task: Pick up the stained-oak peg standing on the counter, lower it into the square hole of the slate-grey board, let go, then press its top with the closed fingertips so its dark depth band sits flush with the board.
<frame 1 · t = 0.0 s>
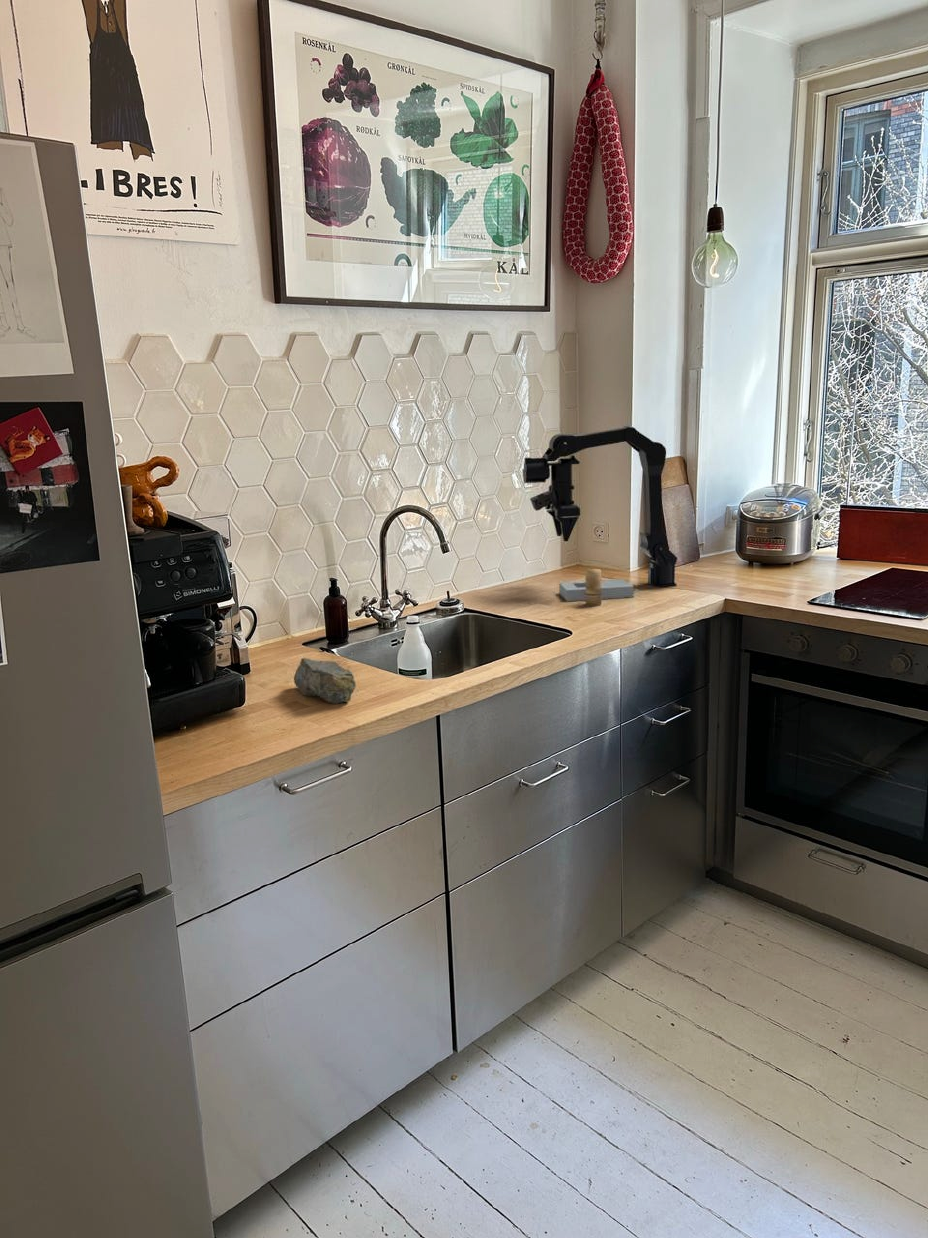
hand: (562, 538, 244), 15 cm above the worktop, tool pointing down, fingers open, 9 cm apart
peg: (593, 604, 231), on the worktop
board: (595, 595, 241), on the worktop
rock: (326, 696, 170), on the worktop
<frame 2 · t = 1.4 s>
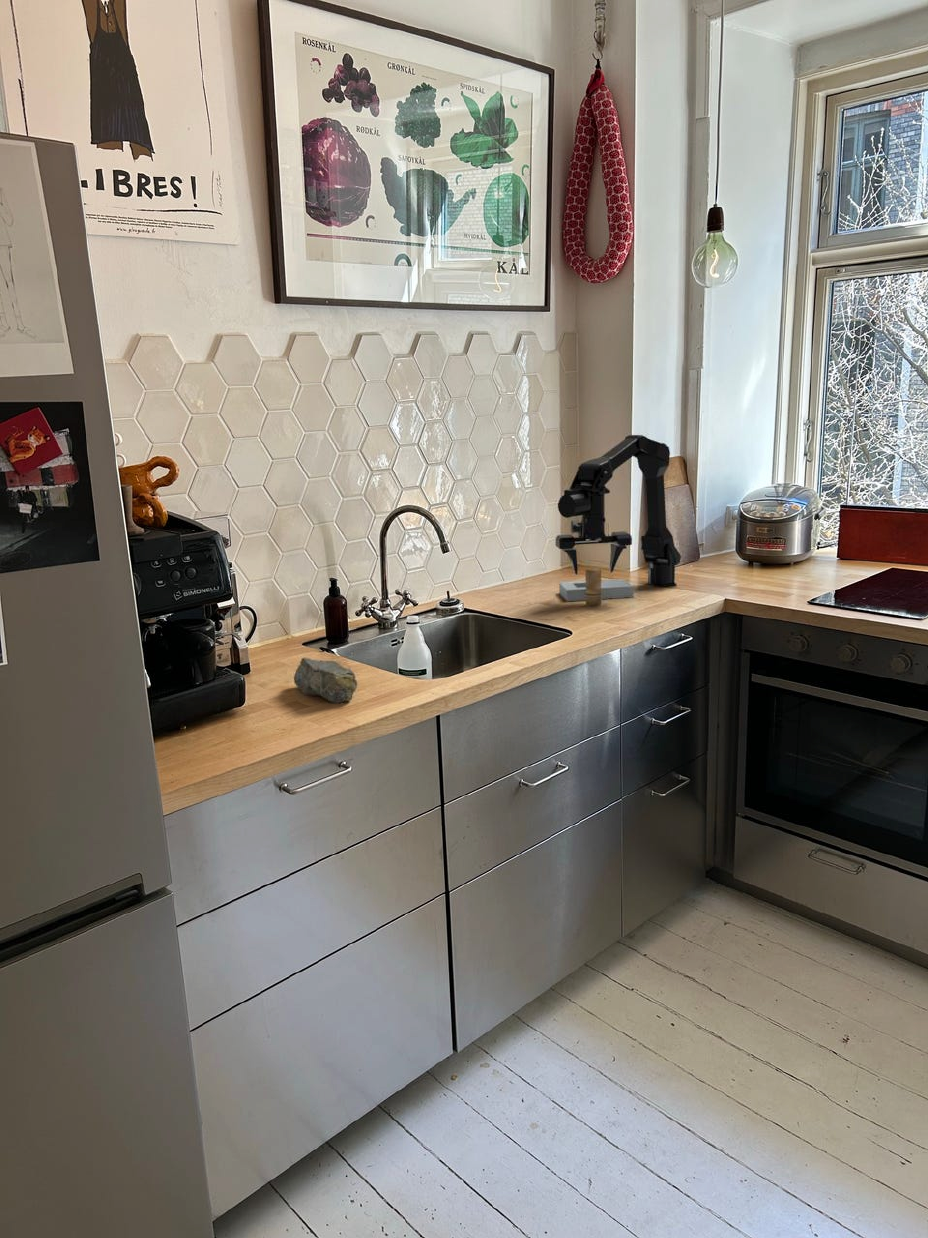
hand: (593, 573, 229), 8 cm above the worktop, tool pointing down, fingers open, 9 cm apart
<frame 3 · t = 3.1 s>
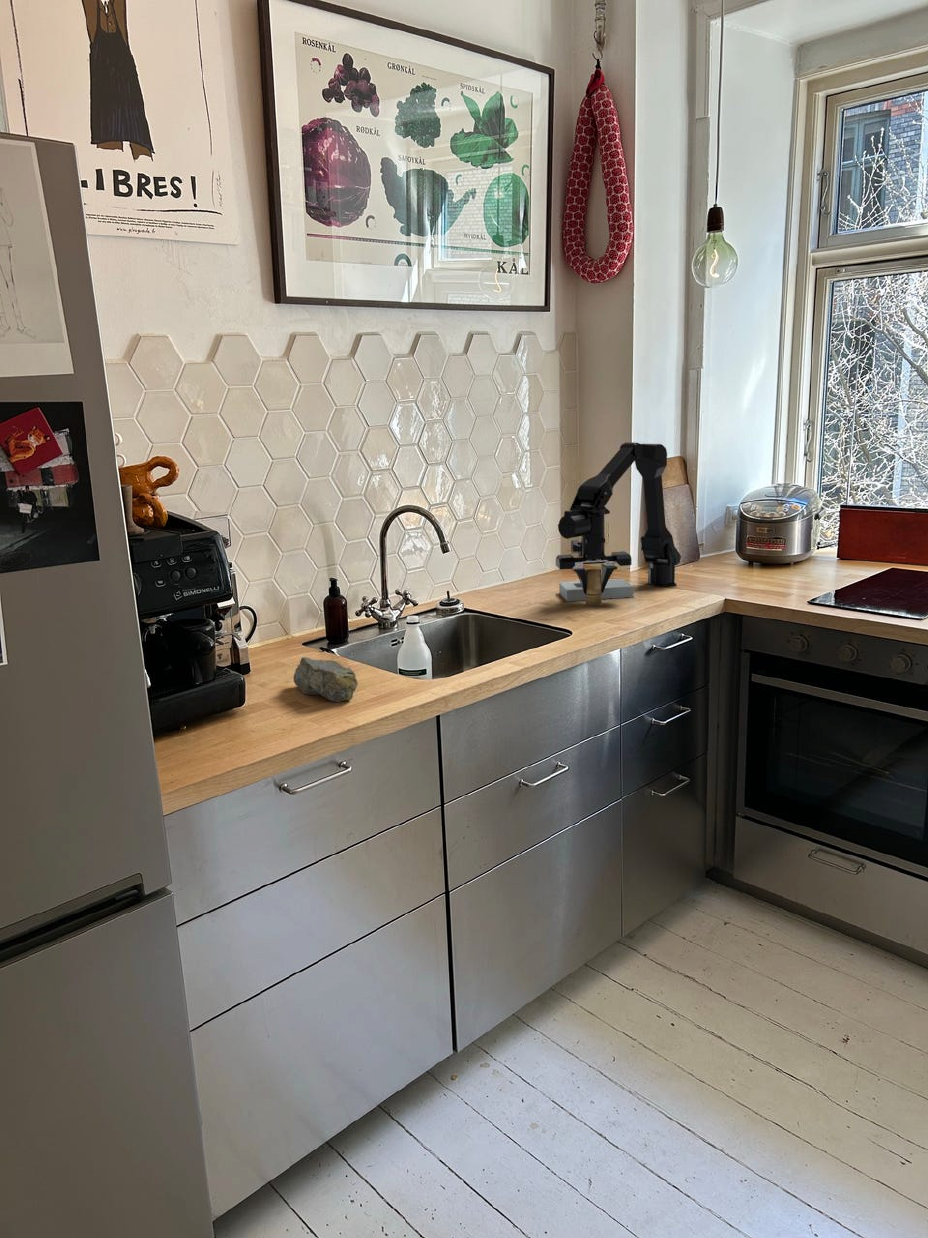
hand: (593, 592, 230), 3 cm above the worktop, tool pointing down, fingers closed on peg, 4 cm apart
peg: (593, 604, 231), on the worktop, touching gripper
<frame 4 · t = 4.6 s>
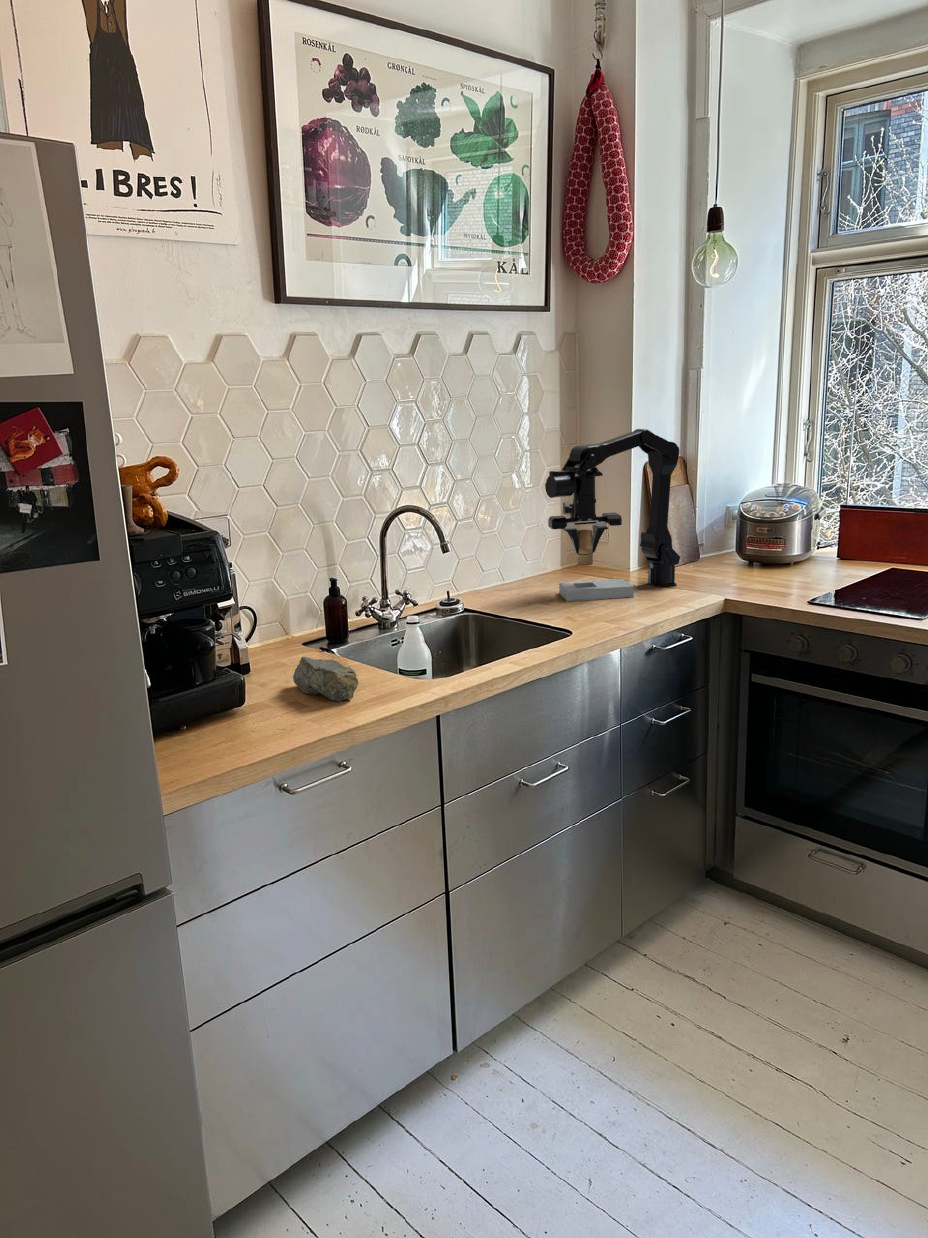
hand: (585, 552, 237), 12 cm above the worktop, tool pointing down, fingers closed on peg, 4 cm apart
peg: (585, 564, 238), point 9 cm above the worktop, touching gripper
when the fingers open (4 cm above the worktop, at t = 6.3 s): peg drops 1 cm, resting in board.
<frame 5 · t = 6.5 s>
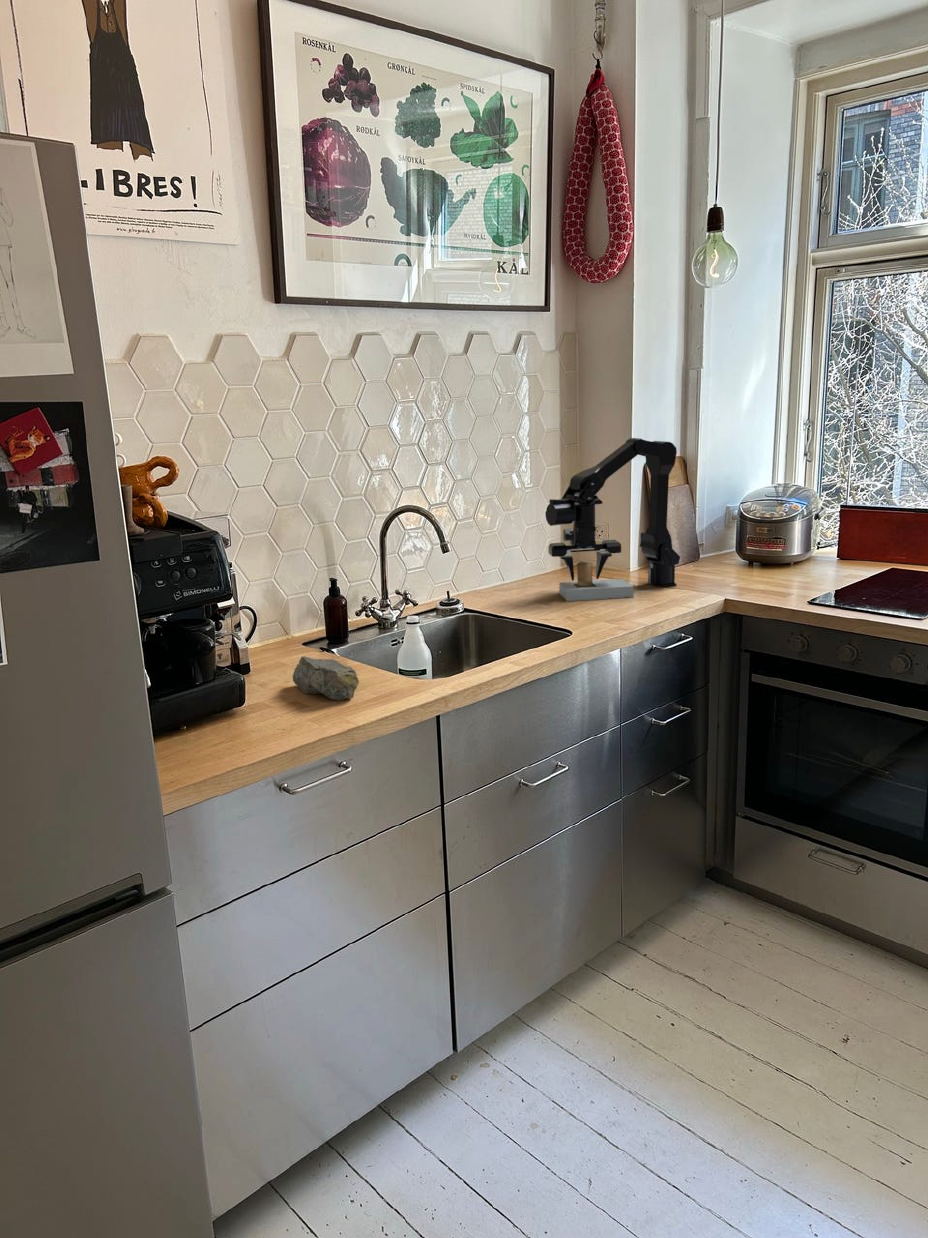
hand: (584, 579, 240), 4 cm above the worktop, tool pointing down, fingers open, 6 cm apart
peg: (585, 595, 241), resting in board
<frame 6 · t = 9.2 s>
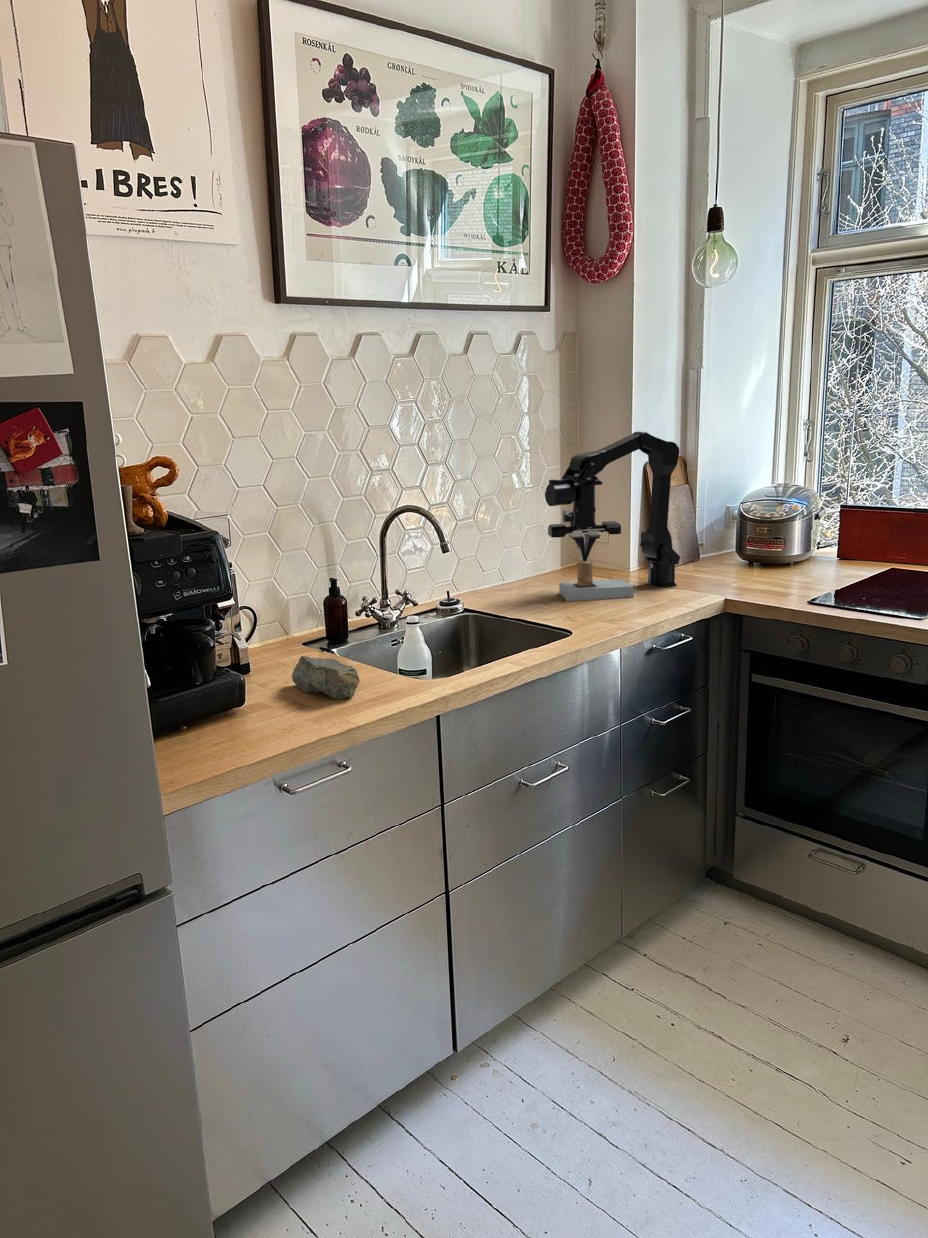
hand: (584, 561, 238), 10 cm above the worktop, tool pointing down, fingers closed
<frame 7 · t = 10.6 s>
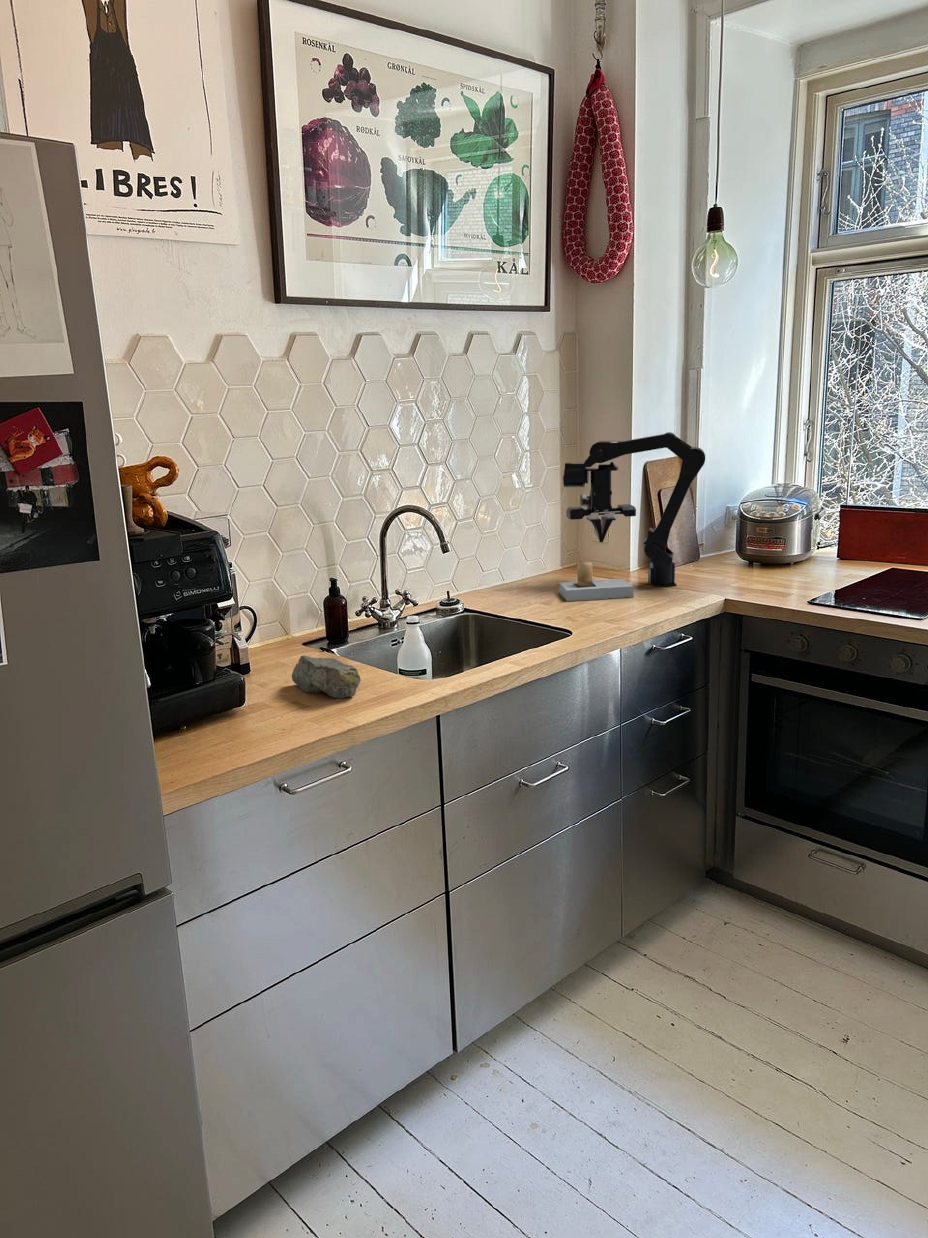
hand: (601, 542, 252), 12 cm above the worktop, tool pointing down, fingers closed
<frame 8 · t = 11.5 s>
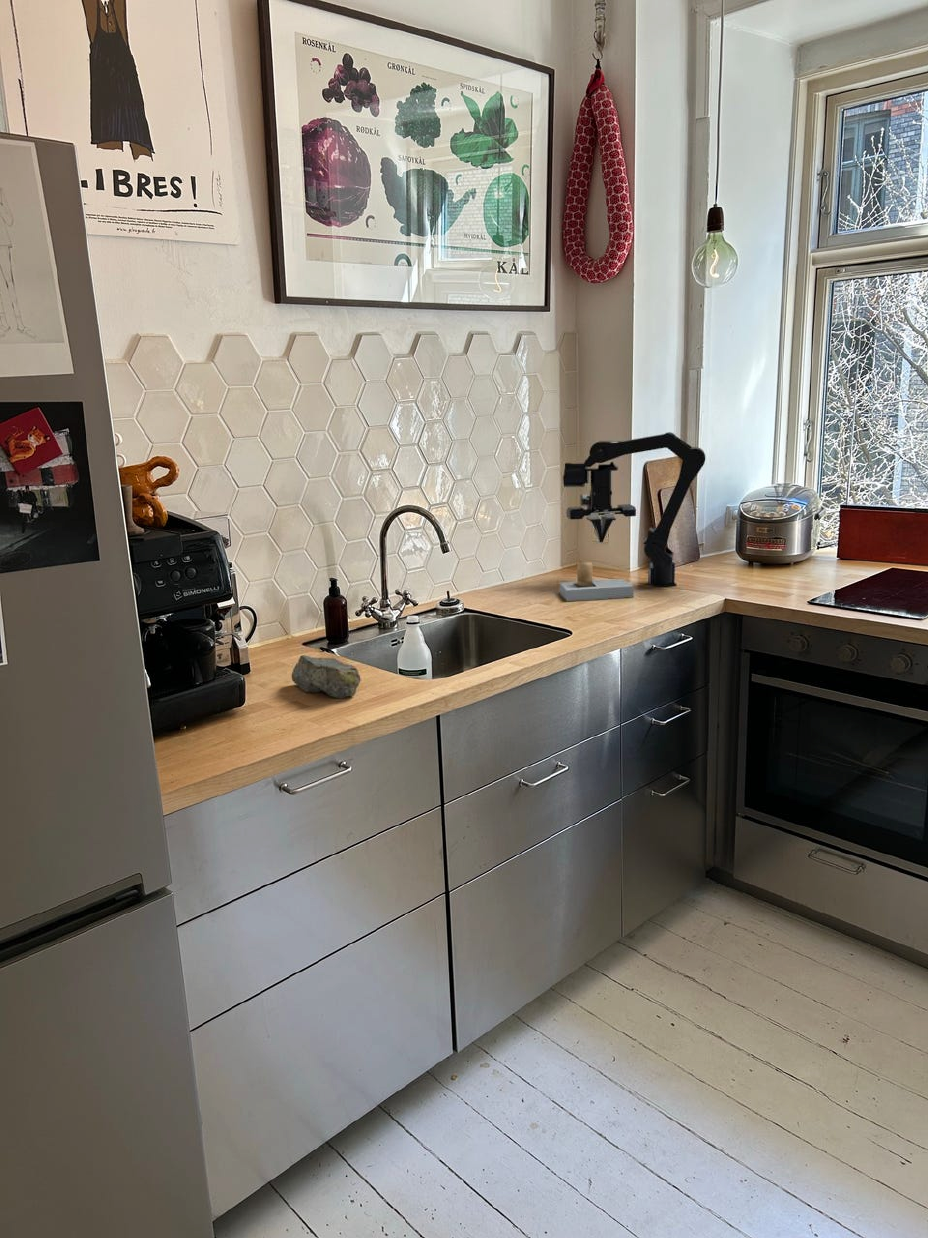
hand: (601, 542, 252), 12 cm above the worktop, tool pointing down, fingers closed
at the end: peg 0.1 cm from the target spot on the board, point 0.0 cm above the board's base; peg tilted 0°; the gripper is holding nothing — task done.
